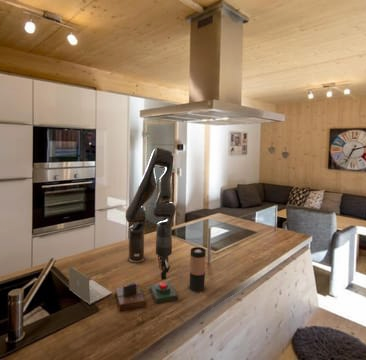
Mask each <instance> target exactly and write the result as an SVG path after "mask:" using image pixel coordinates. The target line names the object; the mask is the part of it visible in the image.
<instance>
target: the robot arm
mask: <svg viewBox="0 0 366 360" xmlns="http://www.w3.org/2000/svg"><path fill="white" fill-rule="evenodd" d="M174 160H175V155H174V152H173V151H171V150H169V149H165V148H161V147H155V148H154V149H153V151H152V153H151V156H150V159H149V161H148V164H147V166H146V170H145V172H144V174H143V176H142V179H141V180H140V183H139V185H138V187H137V189H136V192H135V195H134V196H133V198H132V200H131V202H130V203H129V206H128V207H127V209H126V211H125V220H126V222H127V223H129V224H132V225H131V226H130V227H129V228H128V261H129V262H130V263H142V262H143V261H145V229H146V221H147V212H146V209H145V207H143V206H144V205H145V204H146V203H148V201H149V200H150V199H152V197H153V196H154V194H155V192H156V195H155V196H156V197H155V201H154V204H153V207H152V214H153V216H154V217H155V218H158V219H159V218H160V219H162V218H166V219H165V220H162V221H158V223H156V231H155V232H156V237H155V254H156V256H157V261H158V268H159V270H160V279H161V280H166V279H167V273H169V271H170V268H171V265H170V264H169V261H170V258H169V256H171V255H172V254H173V237H172V235H173V234H172V233H173V232H172V229H173V228H172V227H173V221H174V219H175V216H176V211H177V207H176V204H175V203H174V202H171V201H170V200H171V198H172V176H173V171H174V162H175V161H174ZM156 166H157V167H161V168H165V170H164V173H163V174H162V175H161V176H160V177H159V179H158V180H157V179H156V173H155V168H156Z"/></svg>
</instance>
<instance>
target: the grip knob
mask: <svg viewBox="0 0 366 360" xmlns="http://www.w3.org/2000/svg"><path fill="white" fill-rule="evenodd" d="M137 285H138V284H137V283H136V282H131V283H128V284H124V285H122V287H123V295H124V297H125V296H128V295H131V294H135V293H137Z"/></svg>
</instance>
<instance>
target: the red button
mask: <svg viewBox="0 0 366 360" xmlns="http://www.w3.org/2000/svg"><path fill="white" fill-rule="evenodd" d="M167 283H168V282H164V281H161V282H160V283H159V284H160V289H166V288H167Z"/></svg>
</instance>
